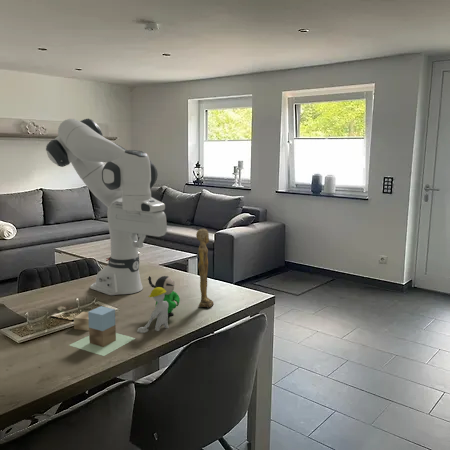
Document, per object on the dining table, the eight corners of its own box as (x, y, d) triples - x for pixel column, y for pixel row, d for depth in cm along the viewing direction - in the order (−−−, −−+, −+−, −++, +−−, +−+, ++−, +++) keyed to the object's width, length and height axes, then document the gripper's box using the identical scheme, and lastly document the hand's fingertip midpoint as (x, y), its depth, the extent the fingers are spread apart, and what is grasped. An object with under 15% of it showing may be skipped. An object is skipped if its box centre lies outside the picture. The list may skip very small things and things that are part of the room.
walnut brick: (89, 343, 139) (89, 327, 138) (102, 336, 143) (102, 321, 142) (103, 347, 136) (102, 331, 135) (115, 340, 141) (115, 324, 140)
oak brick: (74, 332, 149) (73, 317, 148) (83, 325, 154) (82, 311, 154) (89, 333, 148) (88, 319, 147) (98, 327, 153) (97, 313, 152)
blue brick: (88, 327, 138) (88, 311, 137) (101, 321, 142) (101, 306, 142) (102, 331, 135) (102, 315, 134) (115, 324, 140) (114, 309, 139)
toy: (172, 323, 157) (171, 281, 154) (142, 319, 160) (141, 278, 158) (182, 313, 166) (182, 274, 163) (154, 310, 169) (154, 271, 167)
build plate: (68, 348, 137) (68, 345, 137) (102, 332, 149) (102, 329, 149) (103, 359, 131) (103, 355, 130) (135, 341, 143) (135, 338, 142)
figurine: (148, 323, 157) (147, 281, 154) (172, 327, 154) (172, 284, 151) (133, 335, 147) (132, 290, 144) (159, 339, 144) (158, 293, 142)
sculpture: (210, 309, 171) (211, 230, 165) (194, 308, 172) (194, 229, 167) (214, 303, 177) (215, 227, 172) (198, 302, 178) (199, 226, 173)
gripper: (104, 201, 144) (105, 244, 146) (157, 207, 134) (157, 253, 136) (117, 199, 149) (118, 241, 151) (169, 205, 139) (169, 249, 142)
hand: (137, 247), depth 144 cm, fingers closed
